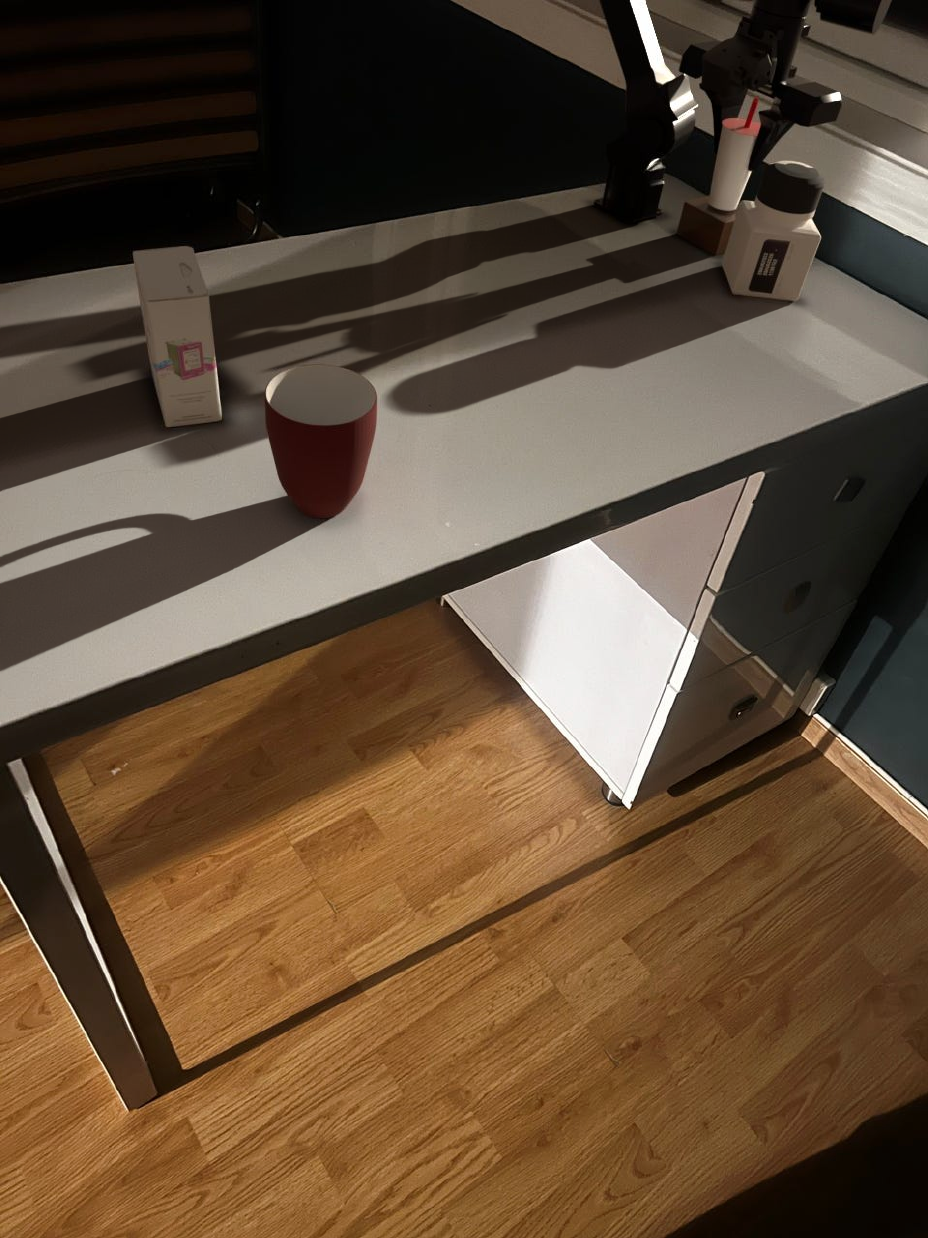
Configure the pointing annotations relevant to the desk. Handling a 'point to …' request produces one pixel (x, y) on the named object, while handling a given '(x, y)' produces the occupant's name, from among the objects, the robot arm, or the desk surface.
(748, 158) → the cup
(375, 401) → the mug
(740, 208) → the container
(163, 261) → the ink box
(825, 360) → the desk surface
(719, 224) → the walnut block
